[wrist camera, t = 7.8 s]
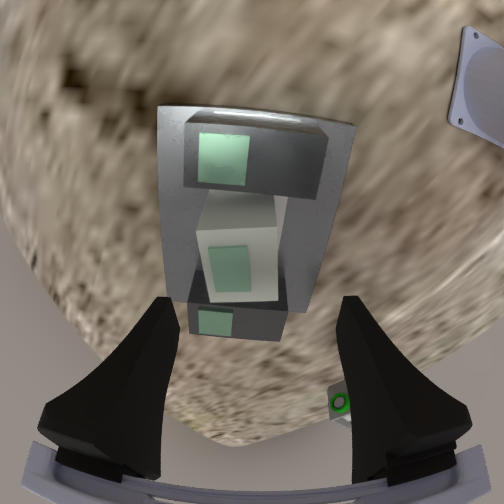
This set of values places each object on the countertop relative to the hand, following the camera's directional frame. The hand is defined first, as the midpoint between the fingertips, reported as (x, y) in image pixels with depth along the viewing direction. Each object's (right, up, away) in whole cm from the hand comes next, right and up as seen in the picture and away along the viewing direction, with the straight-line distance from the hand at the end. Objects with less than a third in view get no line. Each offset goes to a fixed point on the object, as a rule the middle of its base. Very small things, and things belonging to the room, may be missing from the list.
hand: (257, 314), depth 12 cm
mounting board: (-1, +5, +9) cm, 10 cm away
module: (-1, +5, +8) cm, 9 cm away
